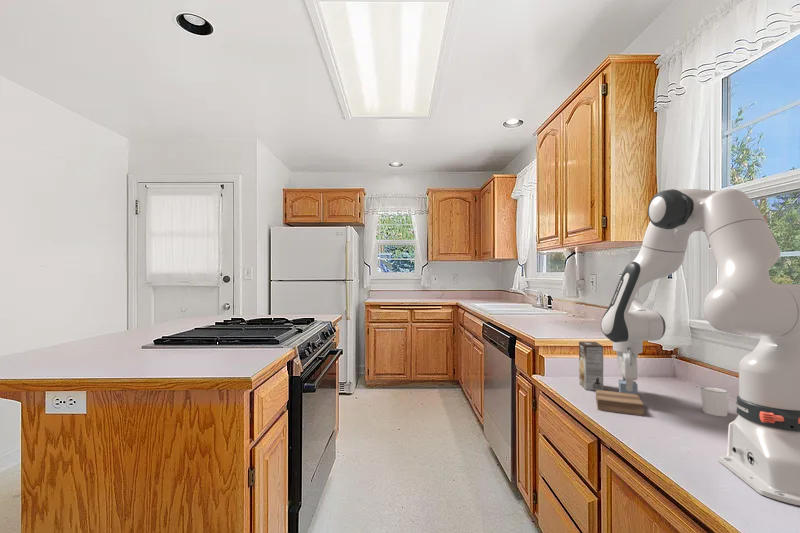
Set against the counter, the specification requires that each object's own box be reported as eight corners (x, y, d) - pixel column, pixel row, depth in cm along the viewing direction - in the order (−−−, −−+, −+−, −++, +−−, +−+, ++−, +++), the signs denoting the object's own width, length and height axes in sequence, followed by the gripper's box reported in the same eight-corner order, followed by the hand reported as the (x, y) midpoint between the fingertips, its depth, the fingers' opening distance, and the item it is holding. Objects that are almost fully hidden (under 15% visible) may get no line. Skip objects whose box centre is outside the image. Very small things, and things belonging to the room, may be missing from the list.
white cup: (735, 417, 114) (735, 393, 114) (708, 415, 115) (708, 391, 115) (721, 410, 121) (721, 387, 121) (696, 408, 122) (695, 385, 122)
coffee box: (578, 383, 150) (578, 341, 151) (596, 384, 149) (596, 341, 149) (585, 390, 141) (585, 345, 142) (604, 391, 140) (604, 345, 140)
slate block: (637, 400, 130) (637, 385, 130) (620, 398, 132) (620, 383, 132) (635, 396, 135) (635, 381, 135) (618, 394, 137) (618, 379, 137)
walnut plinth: (643, 415, 115) (643, 405, 115) (597, 409, 120) (597, 399, 120) (637, 403, 126) (637, 394, 126) (595, 398, 131) (595, 389, 131)
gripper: (642, 352, 123) (643, 396, 123) (634, 342, 142) (634, 380, 142) (619, 350, 126) (619, 394, 125) (614, 340, 144) (614, 378, 144)
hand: (627, 386), depth 134 cm, fingers open, 8 cm apart
